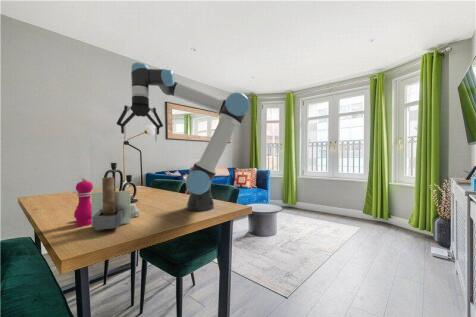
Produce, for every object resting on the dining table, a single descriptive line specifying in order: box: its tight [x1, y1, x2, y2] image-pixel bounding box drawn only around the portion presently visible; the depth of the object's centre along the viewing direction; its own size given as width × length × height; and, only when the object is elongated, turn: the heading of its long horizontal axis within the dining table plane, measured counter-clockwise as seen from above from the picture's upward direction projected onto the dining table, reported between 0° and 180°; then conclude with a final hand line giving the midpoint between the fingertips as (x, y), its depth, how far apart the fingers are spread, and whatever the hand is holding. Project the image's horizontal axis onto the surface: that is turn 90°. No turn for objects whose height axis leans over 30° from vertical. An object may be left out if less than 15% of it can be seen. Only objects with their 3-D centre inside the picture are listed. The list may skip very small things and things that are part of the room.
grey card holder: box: [90, 190, 131, 231], centre depth 85 cm, size 14×12×14 cm
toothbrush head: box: [75, 203, 140, 222], centre depth 99 cm, size 5×7×25 cm
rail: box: [101, 176, 115, 216], centre depth 84 cm, size 4×4×18 cm
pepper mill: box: [73, 176, 94, 227], centre depth 91 cm, size 7×7×20 cm
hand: (141, 141), depth 103 cm, fingers open, 13 cm apart
